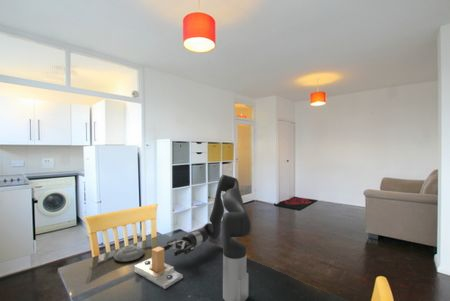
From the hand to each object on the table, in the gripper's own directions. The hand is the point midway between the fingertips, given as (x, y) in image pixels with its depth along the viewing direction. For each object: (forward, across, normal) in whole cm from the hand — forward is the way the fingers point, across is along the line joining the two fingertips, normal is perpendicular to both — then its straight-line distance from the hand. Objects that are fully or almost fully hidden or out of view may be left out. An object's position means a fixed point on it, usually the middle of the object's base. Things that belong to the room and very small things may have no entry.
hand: (168, 251), depth 109 cm
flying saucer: (+4, -27, +9) cm, 29 cm away
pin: (+6, 0, +8) cm, 11 cm away
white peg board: (+6, 0, +8) cm, 11 cm away
